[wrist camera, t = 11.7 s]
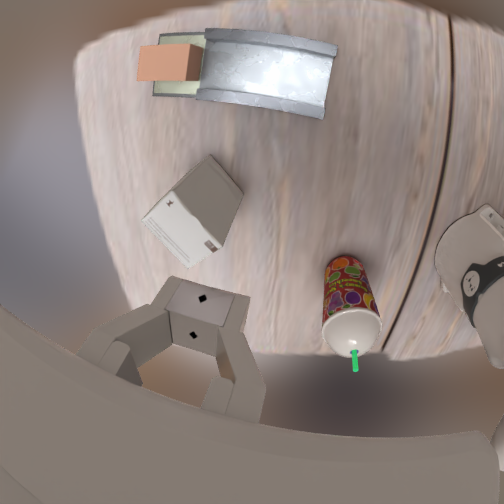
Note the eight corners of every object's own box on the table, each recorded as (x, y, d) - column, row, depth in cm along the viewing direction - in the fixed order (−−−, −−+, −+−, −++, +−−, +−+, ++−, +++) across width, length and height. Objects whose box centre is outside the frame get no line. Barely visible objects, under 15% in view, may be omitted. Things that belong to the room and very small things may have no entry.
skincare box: (184, 175, 41) (135, 219, 28) (212, 152, 38) (168, 187, 26) (218, 215, 44) (185, 272, 31) (248, 195, 41) (222, 249, 29)
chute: (334, 49, 27) (337, 45, 24) (320, 117, 33) (322, 119, 30) (161, 34, 28) (149, 31, 25) (154, 95, 34) (142, 97, 31)
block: (202, 47, 28) (190, 43, 25) (198, 81, 31) (185, 80, 28) (156, 48, 29) (140, 46, 25) (153, 80, 32) (136, 81, 28)
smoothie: (358, 241, 42) (382, 341, 25) (373, 278, 45) (394, 375, 29) (311, 260, 45) (310, 361, 29) (330, 294, 49) (334, 392, 32)
